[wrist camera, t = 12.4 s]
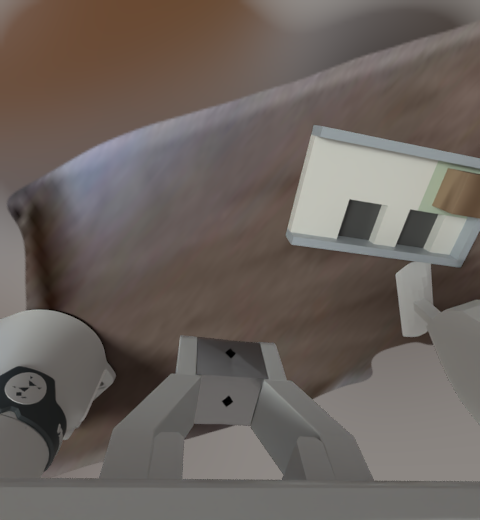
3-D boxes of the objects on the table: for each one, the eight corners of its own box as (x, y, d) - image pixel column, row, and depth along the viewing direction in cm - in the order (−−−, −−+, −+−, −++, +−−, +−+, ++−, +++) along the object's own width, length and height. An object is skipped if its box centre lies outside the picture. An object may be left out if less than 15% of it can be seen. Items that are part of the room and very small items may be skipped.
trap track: (491, 161, 39) (513, 165, 36) (445, 257, 44) (460, 267, 41) (313, 125, 35) (322, 126, 32) (285, 235, 40) (291, 244, 38)
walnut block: (481, 174, 38) (506, 180, 35) (463, 210, 40) (486, 219, 37) (448, 168, 37) (470, 173, 34) (431, 205, 39) (451, 214, 36)
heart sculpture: (435, 335, 50) (545, 443, 34) (403, 345, 50) (498, 457, 34) (429, 250, 43) (564, 334, 27) (393, 262, 44) (506, 352, 27)
